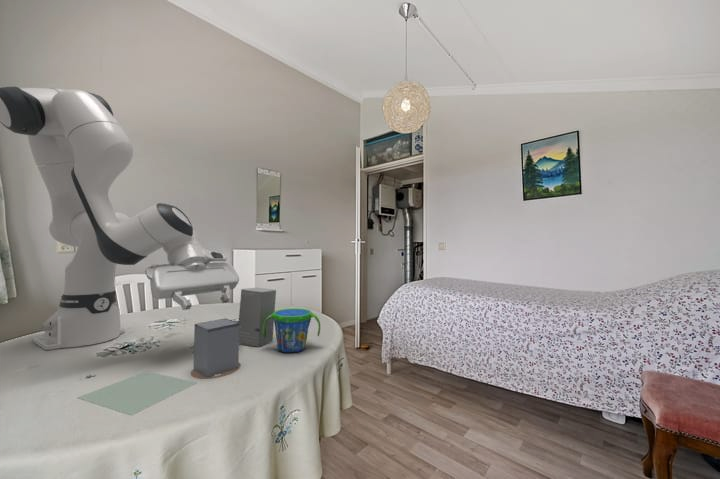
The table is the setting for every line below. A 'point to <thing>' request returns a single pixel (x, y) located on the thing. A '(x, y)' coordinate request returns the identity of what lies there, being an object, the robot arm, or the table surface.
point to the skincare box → (256, 316)
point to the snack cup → (291, 328)
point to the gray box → (216, 347)
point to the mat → (137, 392)
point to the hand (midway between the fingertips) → (208, 304)
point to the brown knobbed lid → (199, 376)
